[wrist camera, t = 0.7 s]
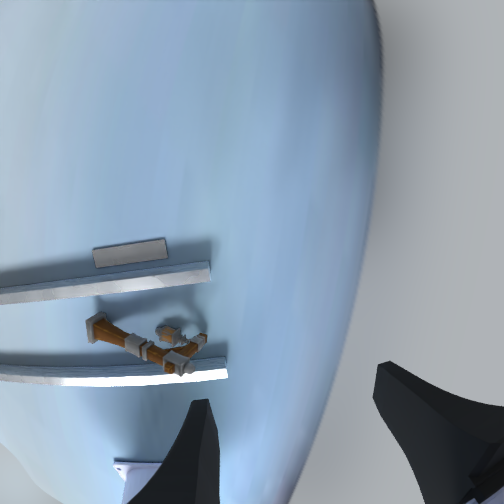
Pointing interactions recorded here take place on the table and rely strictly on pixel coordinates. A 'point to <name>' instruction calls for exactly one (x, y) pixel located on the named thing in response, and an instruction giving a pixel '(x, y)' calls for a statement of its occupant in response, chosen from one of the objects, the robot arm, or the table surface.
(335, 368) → the table surface
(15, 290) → the guide rail
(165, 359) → the wooden post with brackets
